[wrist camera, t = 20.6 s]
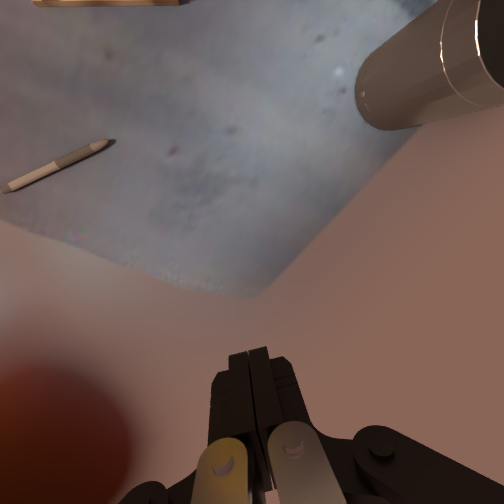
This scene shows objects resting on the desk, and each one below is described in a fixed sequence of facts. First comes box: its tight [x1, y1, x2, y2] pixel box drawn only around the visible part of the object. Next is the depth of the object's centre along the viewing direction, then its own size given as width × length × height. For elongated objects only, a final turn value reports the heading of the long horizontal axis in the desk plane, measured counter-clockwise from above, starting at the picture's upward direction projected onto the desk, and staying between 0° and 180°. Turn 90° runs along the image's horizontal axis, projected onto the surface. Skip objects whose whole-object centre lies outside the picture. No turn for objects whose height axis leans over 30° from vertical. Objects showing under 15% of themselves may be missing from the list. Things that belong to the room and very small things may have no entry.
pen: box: [0, 140, 109, 194], centre depth 33 cm, size 1×14×1 cm, turn 114°
